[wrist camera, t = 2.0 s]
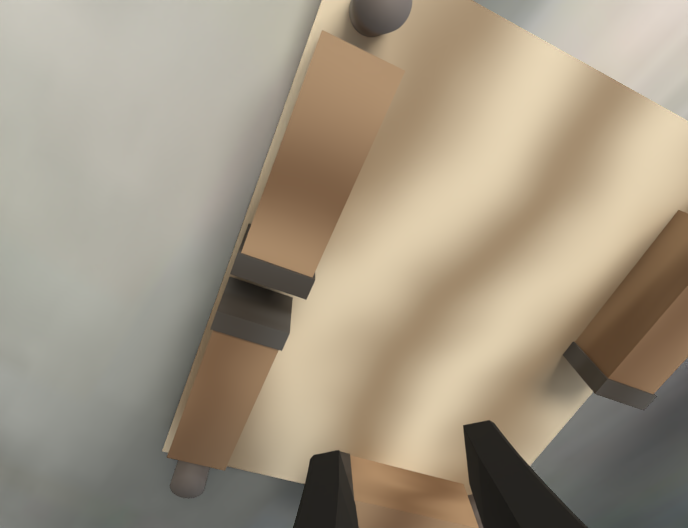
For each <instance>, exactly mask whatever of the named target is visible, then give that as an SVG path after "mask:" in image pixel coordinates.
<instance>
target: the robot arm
mask: <svg viewBox="0 0 688 528" xmlns="http://www.w3.org/2000/svg"><path fill="white" fill-rule="evenodd" d="M463 431H464V440H465V449H466V459H467V468H468V477H469V485H470V488H471V491H472V494H473V497H474V500H475V503H476V507H477V510H478V513H479V516H480V519H481V522H482V525H483V528H588V527H587V526H586V525H585V524H584V523H583V522H582V521H581V520H580V519H579V518H578V517H577V516H576V515H575V514H574V513H573V512H572V511H571V510H570V509H569V508H568V507H567V506H566V505H565V504H564V503H563V502H562V501H561V500H560V499H559V498H558V496H557V495H556V494H555V493H554V492H553V491H552V490H551V489H550V488H549V487H548V486H547V485H546V484H545V483H544V482H543V481H542V479H541V478H540V477H539V476H538V475H537V474H536V473H535V472H534V471H533V469H532V468H531V467H530V466H529V465H528V464H527V463H526V461H525V460H524V459H523V458H522V457H521V456H520V454H519V453H518V452H517V451H516V450H515V449H514V447H513V446H512V445H511V444H510V442H509V441H508V440H507V439H506V437H505V436H504V435H503V434H502V432H501V431H500V430H499V429H498V427H497V426H496V424H495V423H494V422H492V421H490V420H487V421H482V422H477V423H472V424H467V425H463ZM293 528H359V526H358V518H357V511H356V505H355V501H354V498H353V494H352V491H351V488H350V484H349V481H348V478H347V474H346V471H345V468H344V464H343V461H342V458H341V454H340V451H339V450H336V451H331V452H326V453H321V454H316V455H313V456H312V457H311V459H310V461H309V467H308V472H307V477H306V481H305V486H304V490H303V494H302V498H301V501H300V505H299V509H298V512H297V516H296V520H295V523H294V526H293Z"/></svg>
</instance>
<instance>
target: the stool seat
mask: <svg viewBox="0 0 688 528" xmlns="http://www.w3.org/2000/svg"><path fill="white" fill-rule="evenodd" d="M322 30H324V31H326V32H328V33H330V34H332V35H334V36H336V37H338V38H340V39H342V40H344V41H346V42H348V43H350V44H352V45H354V46H356V47H358V48H360V49H362V50H364V51H366V52H368V53H370V54H372V55H374V56H376V57H378V58H380V59H382V60H384V61H386V62H388V63H390V64H393V65H395V66H397V67H399V68H401V69H403V70H405V73H404V75H403V77H402V79H401V82H400V84H399V86H398V88H397V91H396V93H395V95H394V97H393V100H392V102H391V104H390V106H389V108H388V111H387V113H386V115H385V117H384V120H383V122H382V124H381V126H380V128H379V131H378V133H377V135H376V137H375V140H374V142H373V144H372V146H371V148H370V151H369V153H368V155H367V157H366V160H365V162H364V164H363V166H362V168H361V171H360V173H359V175H358V177H357V180H356V182H355V184H354V186H353V189H352V191H351V193H350V195H349V197H348V200H347V202H346V204H345V206H344V209H343V211H342V213H341V215H340V217H339V220H338V222H337V224H336V226H335V229H334V231H333V233H332V235H331V237H330V240H329V242H328V244H327V246H326V249H325V251H324V253H323V255H322V257H321V260H320V262H319V264H318V266H317V269H316V271H315V282H314V284H313V286H312V288H311V291H310V293H309V295H308V297H307V300H305V299H302V298H299V297H297V296H294V295H291V294H288V293H285V292H282V291H279V290H276V289H273V288H270V287H267V286H264V285H261V284H258V283H255V282H252V281H249V280H246V279H243V278H240V277H237V276H234V275H231V274H230V272H231V270H232V267H233V264H234V261H235V258H236V256H237V253H238V250H239V248H240V245H241V242H242V240H243V237H244V234H245V232H246V229H247V227H248V224H252V221H253V218H254V216H255V213H256V210H257V207H258V205H259V202H260V199H261V196H262V194H263V191H264V188H265V185H266V183H267V180H268V177H269V174H270V172H271V169H272V166H273V163H274V161H275V158H276V155H277V152H278V150H279V147H280V144H281V141H282V139H283V136H284V133H285V130H286V128H287V125H288V122H289V119H290V117H291V114H292V111H293V108H294V106H295V103H296V100H297V97H298V95H299V92H300V89H301V86H302V84H303V81H304V78H305V75H306V73H307V70H308V67H309V64H310V62H311V59H312V56H313V53H314V51H315V48H316V45H317V42H318V40H319V37H320V34H321V31H322ZM687 357H688V121H687V120H685V119H684V118H682V117H680V116H678V115H677V114H675V113H673V112H671V111H669V110H668V109H666V108H664V107H662V106H660V105H659V104H657V103H655V102H653V101H651V100H650V99H648V98H646V97H644V96H642V95H641V94H639V93H637V92H635V91H634V90H632V89H630V88H628V87H626V86H625V85H623V84H621V83H619V82H617V81H616V80H614V79H612V78H610V77H608V76H607V75H605V74H603V73H601V72H599V71H598V70H596V69H594V68H592V67H591V66H589V65H587V64H585V63H583V62H582V61H580V60H578V59H576V58H574V57H573V56H571V55H569V54H567V53H565V52H564V51H562V50H560V49H558V48H556V47H555V46H553V45H551V44H549V43H548V42H546V41H544V40H542V39H540V38H539V37H537V36H535V35H533V34H531V33H530V32H528V31H526V30H524V29H522V28H521V27H519V26H517V25H515V24H513V23H512V22H510V21H508V20H506V19H505V18H503V17H501V16H499V15H497V14H496V13H494V12H492V11H490V10H488V9H487V8H485V7H483V6H481V5H479V4H478V3H476V2H474V1H472V0H322V1H321V4H320V7H319V10H318V12H317V15H316V18H315V21H314V24H313V27H312V29H311V32H310V35H309V38H308V41H307V44H306V46H305V49H304V52H303V55H302V58H301V60H300V63H299V66H298V69H297V72H296V75H295V77H294V80H293V83H292V86H291V89H290V92H289V94H288V97H287V100H286V103H285V106H284V108H283V111H282V114H281V117H280V120H279V123H278V125H277V128H276V131H275V134H274V137H273V139H272V142H271V145H270V148H269V151H268V154H267V156H266V159H265V162H264V165H263V168H262V171H261V173H260V176H259V179H258V182H257V185H256V187H255V190H254V193H253V196H252V199H251V202H250V204H249V207H248V210H247V213H246V216H245V219H244V221H243V224H242V227H241V230H240V233H239V235H238V238H237V241H236V244H235V247H234V250H233V252H232V255H231V258H230V261H229V264H228V267H227V269H226V272H225V275H224V278H223V281H222V283H221V286H220V289H219V292H218V295H217V298H216V300H215V303H214V306H213V309H212V312H211V314H210V317H209V320H208V323H207V326H206V329H205V331H204V334H203V337H202V340H201V343H200V346H199V348H198V351H197V354H196V357H195V360H194V362H193V365H192V368H191V371H190V374H189V377H188V379H187V382H186V385H185V388H184V391H183V394H182V396H181V399H180V402H179V405H178V408H177V410H176V413H175V416H174V419H173V422H172V425H171V427H170V430H169V433H168V436H167V439H166V441H165V444H164V447H163V450H162V451H163V452H167V453H168V455H167V458H171V459H176V460H178V462H177V465H176V468H175V471H174V474H173V477H172V480H171V483H170V489H171V491H172V492H173V493H174V494H175V495H177V496H179V497H182V498H195V497H197V496H199V495H201V494H202V493H203V491H204V489H205V485H206V481H207V477H208V473H209V469H210V467H211V468H215V469H220V470H224V471H225V469H226V467H227V466H228V467H232V468H237V469H241V470H245V471H250V472H254V473H259V474H263V475H267V476H272V477H276V478H280V479H285V480H289V481H293V482H298V483H302V484H305V481H306V477H307V472H308V467H309V461H310V459H311V457H312V456H313V455H316V454H321V453H326V452H331V451H336V450H339V451H340V454H341V458H342V461H343V464H344V468H345V471H346V474H347V478H348V481H349V484H350V488H351V491H352V494H353V498H354V501H355V505H356V511H357V518H358V526H359V528H483V525H482V522H481V519H480V516H479V513H478V510H477V507H476V503H475V500H474V497H473V494H472V491H471V488H470V485H469V477H468V468H467V459H466V449H465V440H464V431H463V425H467V424H472V423H477V422H482V421H487V420H490V421H492V422H494V423H495V424H496V426H497V427H498V429H499V430H500V431H501V432H502V434H503V435H504V436H505V437H506V439H507V440H508V441H509V442H510V444H511V445H512V446H513V447H514V449H515V450H516V451H517V452H518V453H519V454H520V456H521V457H522V458H523V459H524V460H525V461H526V463H527V464H528V465H529V466H530V465H531V464H532V463H533V462H534V461H535V459H536V458H537V457H538V456H539V455H540V454H541V452H542V451H543V450H544V449H545V448H546V446H547V445H548V444H549V443H550V442H551V441H552V439H553V438H554V437H555V436H556V435H557V434H558V432H559V431H560V430H561V429H562V428H563V427H564V425H565V424H566V423H567V422H568V421H569V420H570V418H571V417H572V416H573V415H574V414H575V413H576V411H577V410H578V409H579V408H580V407H581V406H582V404H583V403H584V402H585V401H586V400H587V399H588V397H589V396H590V395H591V394H592V393H593V392H594V393H595V394H597V395H600V396H603V397H606V398H609V399H612V400H614V401H617V402H620V403H623V404H626V405H629V406H632V407H635V408H638V409H641V410H645V409H646V408H647V407H648V406H649V404H650V403H651V402H652V401H653V400H654V399H655V398H656V397H657V396H656V395H655V394H654V393H655V392H656V391H657V390H658V389H659V388H660V386H661V385H662V384H663V383H664V382H665V381H666V380H667V379H668V378H669V377H670V376H671V375H672V374H673V372H674V371H675V370H676V369H677V368H678V367H679V366H680V365H681V364H682V363H683V362H684V361H685V360H686V359H687Z"/></svg>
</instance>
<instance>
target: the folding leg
mask: <svg viewBox="0 0 688 528" xmlns="http://www.w3.org/2000/svg"><path fill="white" fill-rule="evenodd" d="M404 73H405V70H403V69H401V68H399V67H397V66H395V65H393V64H390V63H388V62H386V61H384V60H382V59H380V58H378V57H376V56H374V55H372V54H370V53H368V52H366V51H364V50H362V49H360V48H358V47H356V46H354V45H352V44H350V43H348V42H346V41H344V40H342V39H340V38H338V37H336V36H334V35H332V34H330V33H328V32H326V31H324V30H322V31H321V34H320V37H319V40H318V42H317V45H316V48H315V51H314V53H313V56H312V59H311V62H310V64H309V67H308V70H307V73H306V75H305V78H304V81H303V84H302V86H301V89H300V92H299V95H298V97H297V100H296V103H295V106H294V108H293V111H292V114H291V117H290V119H289V122H288V125H287V128H286V130H285V133H284V136H283V139H282V141H281V144H280V147H279V150H278V152H277V155H276V158H275V161H274V163H273V166H272V169H271V172H270V174H269V177H268V180H267V183H266V185H265V188H264V191H263V194H262V196H261V199H260V202H259V205H258V207H257V210H256V213H255V216H254V218H253V221H252V224H248V227H247V229H246V232H245V234H244V237H243V240H242V242H241V245H240V248H239V250H238V253H237V256H236V258H235V261H234V264H233V267H232V270H231V272H230V274H231V275H234V276H237V277H240V278H243V279H246V280H249V281H252V282H255V283H258V284H261V285H264V286H267V287H270V288H273V289H276V290H279V291H282V292H285V293H288V294H291V295H294V296H297V297H299V298H302V299H305V300H307V297H308V295H309V293H310V291H311V288H312V286H313V284H314V282H315V271H316V269H317V266H318V264H319V262H320V260H321V257H322V255H323V253H324V251H325V249H326V246H327V244H328V242H329V240H330V237H331V235H332V233H333V231H334V229H335V226H336V224H337V222H338V220H339V217H340V215H341V213H342V211H343V209H344V206H345V204H346V202H347V200H348V197H349V195H350V193H351V191H352V189H353V186H354V184H355V182H356V180H357V177H358V175H359V173H360V171H361V168H362V166H363V164H364V162H365V160H366V157H367V155H368V153H369V151H370V148H371V146H372V144H373V142H374V140H375V137H376V135H377V133H378V131H379V128H380V126H381V124H382V122H383V120H384V117H385V115H386V113H387V111H388V108H389V106H390V104H391V102H392V100H393V97H394V95H395V93H396V91H397V88H398V86H399V84H400V82H401V79H402V77H403V75H404Z"/></svg>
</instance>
